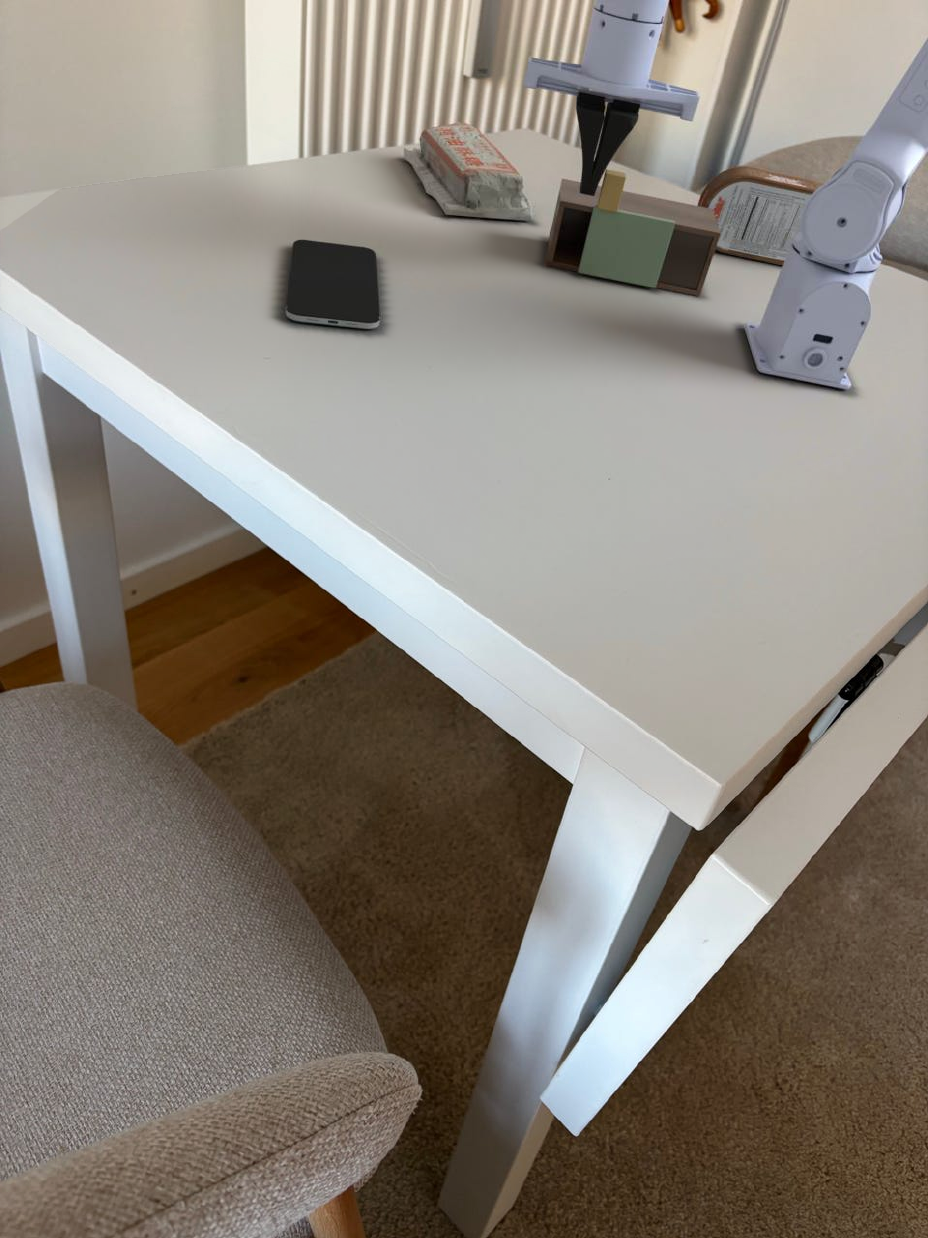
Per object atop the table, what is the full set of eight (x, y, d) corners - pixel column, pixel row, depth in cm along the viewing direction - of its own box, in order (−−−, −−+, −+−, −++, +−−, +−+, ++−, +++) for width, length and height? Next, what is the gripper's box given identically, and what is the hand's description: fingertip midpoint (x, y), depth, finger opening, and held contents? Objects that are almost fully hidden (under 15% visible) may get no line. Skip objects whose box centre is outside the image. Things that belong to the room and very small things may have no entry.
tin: (820, 266, 102) (853, 185, 96) (825, 276, 99) (860, 195, 94) (685, 238, 101) (711, 156, 96) (688, 249, 99) (714, 165, 93)
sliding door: (655, 289, 88) (686, 189, 82) (577, 274, 88) (602, 172, 82) (655, 284, 89) (684, 184, 83) (578, 268, 89) (602, 167, 83)
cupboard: (699, 296, 89) (720, 232, 85) (546, 265, 89) (560, 200, 85) (693, 269, 94) (713, 208, 90) (548, 240, 94) (561, 178, 90)
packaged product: (545, 175, 94) (450, 167, 91) (535, 224, 97) (443, 218, 94) (491, 120, 106) (406, 112, 103) (483, 165, 109) (401, 158, 106)
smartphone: (284, 312, 71) (292, 237, 81) (284, 321, 71) (292, 245, 82) (381, 323, 72) (376, 248, 83) (380, 331, 72) (375, 255, 83)
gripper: (711, 24, 78) (663, 193, 87) (541, -11, 77) (510, 162, 86) (721, 39, 72) (668, 218, 81) (538, 1, 72) (505, 185, 81)
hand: (587, 191), depth 83 cm, fingers closed
